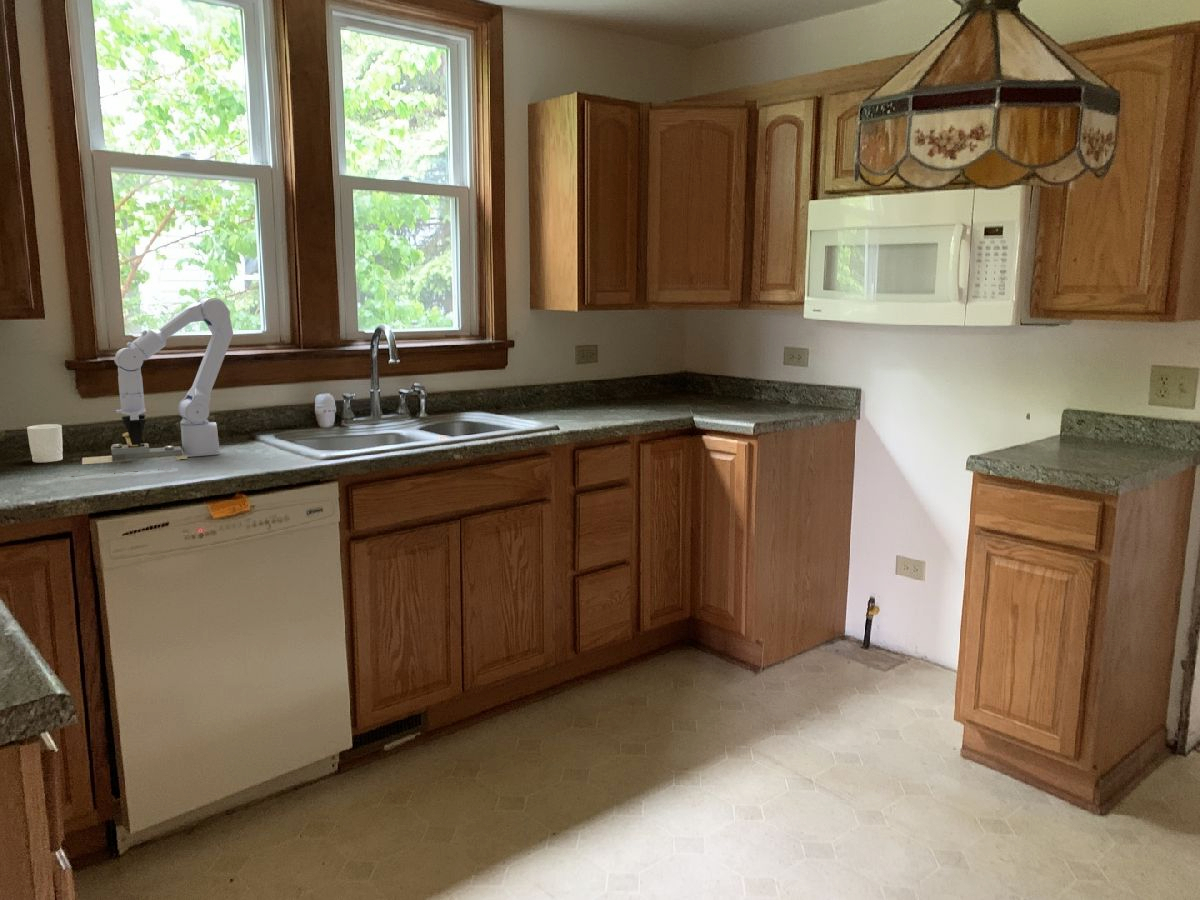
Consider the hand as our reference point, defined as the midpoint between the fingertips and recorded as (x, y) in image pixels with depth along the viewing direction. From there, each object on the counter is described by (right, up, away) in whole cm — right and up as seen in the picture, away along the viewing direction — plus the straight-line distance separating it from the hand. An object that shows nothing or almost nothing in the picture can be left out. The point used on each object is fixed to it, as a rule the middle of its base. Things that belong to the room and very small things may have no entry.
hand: (136, 443), depth 244 cm
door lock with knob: (0, -5, +1) cm, 5 cm away
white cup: (-21, -6, -4) cm, 22 cm away
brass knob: (0, -3, +1) cm, 4 cm away
